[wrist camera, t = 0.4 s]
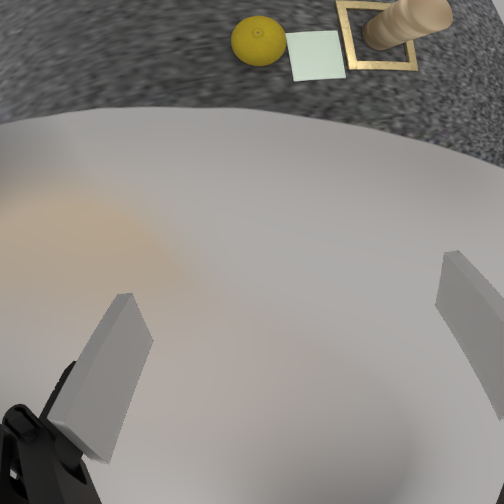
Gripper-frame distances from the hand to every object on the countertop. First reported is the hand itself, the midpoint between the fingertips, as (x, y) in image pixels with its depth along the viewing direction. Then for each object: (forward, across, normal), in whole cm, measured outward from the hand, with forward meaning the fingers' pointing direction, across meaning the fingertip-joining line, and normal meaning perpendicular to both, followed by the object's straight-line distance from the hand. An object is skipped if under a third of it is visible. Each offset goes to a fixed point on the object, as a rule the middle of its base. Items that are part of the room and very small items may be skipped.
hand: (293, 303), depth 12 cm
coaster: (+26, +7, +13) cm, 30 cm away
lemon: (+27, +1, +14) cm, 30 cm away
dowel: (+26, +15, +15) cm, 34 cm away
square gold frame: (+26, +15, +15) cm, 34 cm away
